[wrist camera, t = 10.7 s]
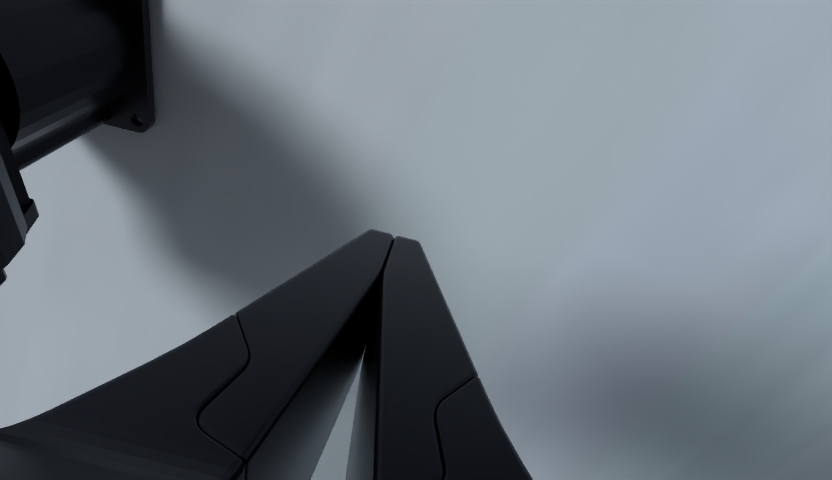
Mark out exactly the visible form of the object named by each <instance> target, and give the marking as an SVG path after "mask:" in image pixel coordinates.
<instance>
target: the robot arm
mask: <svg viewBox="0 0 832 480" xmlns="http://www.w3.org/2000/svg"><path fill="white" fill-rule="evenodd" d="M136 114H137V115H139V116H140V117H141V118H142V120H143V123H142V122H140V121H139V120H138V119H137V117H136ZM154 122H155V115H154V98H153V80H152V62H151V44H150V26H149V8H148V0H0V286H1V285H2V283H3V282H4V281H5V280H6V277H7V275H6V273H5V271H4V268H5V267H6V266H7V265H8V264H9V263H10V262H11V260H12V259H13V258H14V257H15V255H16V254H17V253H18V252H19V250H20V249H21V248H22V247H23V246H24V244H25V238H26V234H27V233H28V231H29V230H30V228H31V227H32V225H33V224H34V222H35V221H36V219H37V218H38V217H39V213H38V211H37V208H36V205H35V202H34V200H33V199H30V198H29V197H28V194H27V191H26V188H25V185H24V183H23V180H22V177H21V174H20V170H22V169H24V168H25V167H27V166H29V165H31V164H33V163H34V162H36V161H38V160H40V159H41V158H43V157H45V156H47V155H48V154H50V153H52V152H54V151H55V150H57V149H59V148H61V147H62V146H64V145H66V144H68V143H69V142H71V141H73V140H75V139H76V138H78V137H80V136H82V135H83V134H85V133H87V132H89V131H91V130H92V129H94V128H96V127H98V126H99V125H101V124H107V125H111V126H115V127H119V128H123V129H127V130H131V131H135V132H141V133H143V132H145V131H147V130H149V129H150V128H152V126H153V125H154ZM364 351H365V352H364ZM363 354H364V357H363ZM362 357H363V361H362V366H361V372H360V379H359V386H358V393H357V400H356V407H355V415H354V422H353V429H352V436H351V443H350V451H349V458H348V465H347V472H346V480H533V479H532V477H531V476H530V474H529V472H528V471H527V469H526V467H525V466H524V464H523V462H522V461H521V459H520V457H519V455H518V454H517V452H516V450H515V448H514V447H513V445H512V443H511V441H510V439H509V438H508V436H507V434H506V432H505V431H504V429H503V427H502V425H501V423H500V421H499V419H498V417H497V415H496V413H495V411H494V409H493V407H492V404H491V402H490V400H489V398H488V396H487V394H486V392H485V389H484V387H483V385H482V382H481V380H480V378H478V374H477V371H476V369H475V367H474V365H473V362H472V360H471V358H470V356H469V353H468V351H467V349H466V347H465V344H464V342H463V340H462V337H461V335H460V333H459V331H458V328H457V326H456V324H455V322H454V319H453V317H452V315H451V313H450V310H449V308H448V306H447V303H446V301H445V299H444V297H443V294H442V292H441V290H440V288H439V285H438V283H437V281H436V279H435V276H434V274H433V272H432V269H431V267H430V265H429V263H428V260H427V258H426V256H425V254H424V251H423V249H422V247H421V245H420V243H419V242H418V241H416V240H412V239H408V238H404V237H400V236H397V237H395V238H393V236H392V235H391V234H388V233H385V232H381V231H377V230H373V229H371V230H368V231H366V232H365V233H363V234H362V235H360V236H358V237H357V238H355V239H354V240H352V241H350V242H349V243H347V244H346V245H344V246H342V247H341V248H339V249H337V250H336V251H334V252H333V253H331V254H329V255H328V256H326V257H325V258H323V259H321V260H320V261H318V262H317V263H315V264H313V265H312V266H310V267H309V268H307V269H305V270H304V271H302V272H301V273H299V274H297V275H296V276H294V277H293V278H291V279H289V280H288V281H286V282H285V283H283V284H281V285H280V286H278V287H276V288H275V289H273V290H272V291H270V292H268V293H267V294H265V295H264V296H262V297H260V298H259V299H257V300H256V301H254V302H252V303H251V304H249V305H248V306H246V307H244V308H243V309H241V310H240V311H238V312H237V313H236V314H235V315H231V316H230V317H228V318H226V319H225V320H223V321H222V322H220V323H218V324H217V325H215V326H213V327H212V328H210V329H208V330H207V331H205V332H203V333H201V334H200V335H198V336H196V337H195V338H193V339H191V340H189V341H188V342H186V343H184V344H182V345H181V346H179V347H177V348H175V349H173V350H171V351H169V352H167V353H165V354H163V355H161V356H159V357H157V358H155V359H153V360H151V361H149V362H148V363H146V364H143V365H141V366H139V367H137V368H135V369H133V370H131V371H129V372H127V373H125V374H123V375H121V376H119V377H117V378H115V379H113V380H111V381H108V382H106V383H104V384H102V385H100V386H98V387H96V388H94V389H92V390H90V391H88V392H86V393H84V394H82V395H80V396H78V397H75V398H73V399H71V400H69V401H67V402H65V403H63V404H61V405H59V406H57V407H55V408H53V409H51V410H49V411H46V412H44V413H42V414H40V415H37V416H35V417H33V418H31V419H28V420H25V421H22V422H20V423H17V424H14V425H11V426H8V427H4V428H1V429H0V480H310V479H311V477H312V475H313V472H314V470H315V468H316V466H317V463H318V461H319V459H320V456H321V454H322V452H323V449H324V447H325V445H326V442H327V440H328V438H329V436H330V433H331V431H332V429H333V426H334V424H335V422H336V419H337V417H338V415H339V413H340V410H341V408H342V406H343V403H344V401H345V399H346V396H347V394H348V392H349V389H350V387H351V385H352V383H353V380H354V378H355V376H356V373H357V371H358V368H359V366H360V363H361V360H362Z"/></svg>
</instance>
